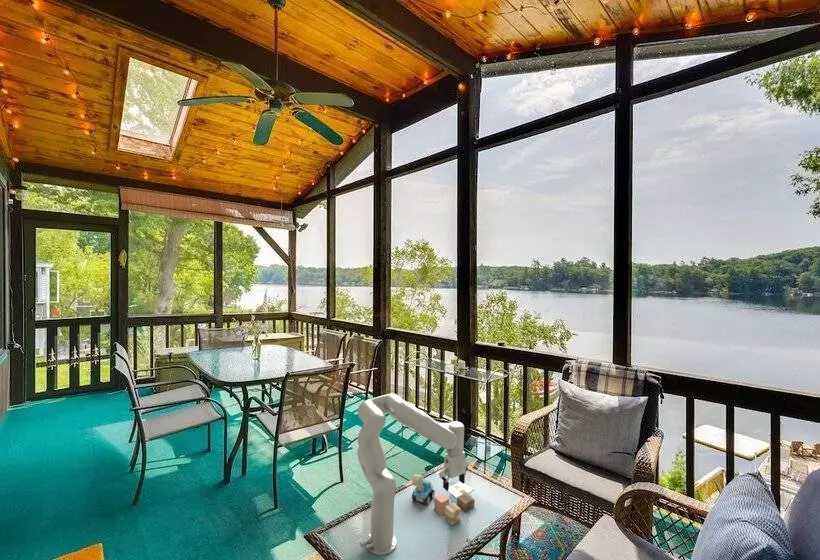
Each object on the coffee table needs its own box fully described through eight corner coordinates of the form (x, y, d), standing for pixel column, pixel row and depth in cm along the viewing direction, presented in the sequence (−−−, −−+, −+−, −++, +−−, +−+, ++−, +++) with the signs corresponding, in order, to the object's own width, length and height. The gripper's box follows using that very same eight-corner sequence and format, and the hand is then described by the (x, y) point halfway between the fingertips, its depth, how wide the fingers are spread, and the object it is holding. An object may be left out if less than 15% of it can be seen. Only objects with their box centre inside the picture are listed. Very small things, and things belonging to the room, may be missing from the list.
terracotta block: (440, 514, 178) (441, 502, 178) (434, 508, 182) (434, 497, 182) (448, 511, 181) (449, 499, 181) (442, 505, 185) (442, 493, 185)
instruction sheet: (456, 498, 191) (456, 497, 191) (445, 488, 198) (445, 488, 198) (473, 490, 197) (474, 489, 197) (462, 481, 205) (462, 481, 205)
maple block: (451, 525, 172) (452, 512, 171) (444, 518, 176) (445, 506, 175) (460, 520, 175) (460, 508, 174) (452, 514, 179) (453, 502, 178)
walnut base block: (465, 511, 181) (465, 503, 181) (456, 504, 186) (457, 496, 186) (474, 507, 184) (474, 499, 184) (466, 500, 189) (466, 492, 189)
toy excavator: (405, 509, 182) (406, 474, 180) (420, 490, 196) (421, 458, 195) (421, 515, 178) (422, 480, 176) (435, 495, 192) (436, 463, 191)
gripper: (446, 458, 165) (444, 496, 166) (474, 448, 175) (473, 483, 176) (435, 451, 171) (434, 487, 172) (463, 441, 181) (462, 475, 182)
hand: (453, 485), depth 174 cm, fingers open, 9 cm apart
